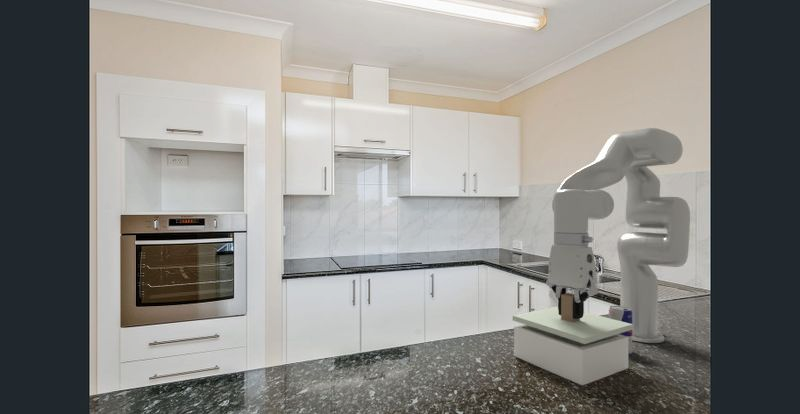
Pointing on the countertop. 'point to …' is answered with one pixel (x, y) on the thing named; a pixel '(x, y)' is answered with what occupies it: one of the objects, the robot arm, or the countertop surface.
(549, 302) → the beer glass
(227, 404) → the countertop surface
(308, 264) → the countertop surface
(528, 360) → the box
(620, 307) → the energy drink
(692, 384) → the countertop surface
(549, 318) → the lid
